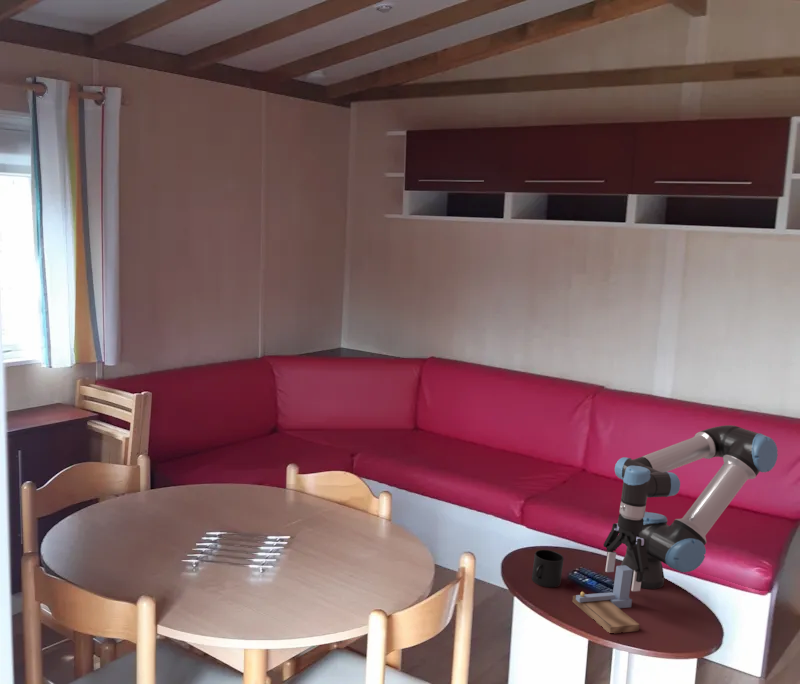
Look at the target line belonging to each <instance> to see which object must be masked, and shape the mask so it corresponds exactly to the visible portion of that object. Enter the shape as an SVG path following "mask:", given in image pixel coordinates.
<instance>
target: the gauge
mask: <svg viewBox="0 0 800 684" xmlns="http://www.w3.org/2000/svg"><path fill="white" fill-rule="evenodd" d="M632 571H633V570H632V569H630V568H629V567H628V566H626V565H623V566H620V565H616V567H615V574H614V582H613V589H612V591H611V592H598V593H588V594H587V593H585V592H584V591H581V592H580V594H576V595H575V596H576V600H577V601H578V602H591V601H602V600H609V601H610V602H612V603H613V604H614V605H615V606H617V607H618V608H619V609H626V608H632V603H633V598H630V591H631V586H632V585H631V578H632Z"/></svg>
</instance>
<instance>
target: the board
mask: <svg viewBox="0 0 800 684" xmlns="http://www.w3.org/2000/svg"><path fill="white" fill-rule="evenodd" d="M572 603H574V605H576V606H577V607H578V608H579V609H580V610H581V611H582V612H584V613H585V614H586V615H587V616H588V617H589V618H591V619H592V620H593V619H594V620H595V621H596V622H595V621H594V620H593V621H594V622H595V623H596V624H597V625H599V626H600V627H601V626H602V627H603V630H605V631H606V632H607V633H608V632H609V633H614V634H621V632H623V633H630V632H639V629H640V623H639V622H637V621H636V620H634V619H633V618H632V617H631V616H630V615H628V614H627V613H625V612H624V611H623V610H622V608H618V607H617V606H615V605H614V604H613V603H612V602H610V601H609V600H602V601H591V602H578V601H577V600H576V595H572ZM602 627H601V628H602ZM609 633H608V634H609Z"/></svg>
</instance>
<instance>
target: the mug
mask: <svg viewBox="0 0 800 684" xmlns="http://www.w3.org/2000/svg"><path fill="white" fill-rule="evenodd" d="M564 560H565V558H564V556H563V555H562V554H561V553H559V552H557V551H553V550H550V549H539V550H536V551H534V559H533V566H532V573H531V580H532V582H533V583H534V584H536V585H538V586H540V587H545V588H557V587H559V586H560V585H561V584H562V583H561V582H562V577H563V576H562V573H563V567H564Z"/></svg>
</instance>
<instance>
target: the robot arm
mask: <svg viewBox="0 0 800 684" xmlns="http://www.w3.org/2000/svg"><path fill="white" fill-rule="evenodd" d="M778 452H779V451H778V447H777V444H776V442H775V440H774V439H773V438H772V437H770V436H768V435H765V434H763V433H760V432H755V431H752V430H749V429H746V428H743V427H740V426H737V425H730V424H729V425H725V424H724V425H720V426H714V427H710V428H707V429H704V430H701V431H698V432H697V433H695V434H694V436H693V437H691V438H687V439H685V440H682V441H680V442H677V443H674V444H672V445H669V446H667V447H664V448H662V449H661V448H660V449H658V450H656V451H652V452H650V453H648V454H646V455H643V456H640V457H636V458H634V459H632V458H630V457H620V458H619V459H618V460H617V462H616V463H615V464H614V465H615V466H614V473H615V476H616V477H617V478H618V479H621V480H622V489H621V490H622V491H621V498H620V505H619V514H618V518H617V523H616V522H614V523H613V524H612V527H611V530H610V532H609V533H608V535H607V537H606V539H605V541H604V542H603V547H604V548H606V559H605V560H606V563H605V564H606V565H605V570H604V571H605V572H606V573H614V572H615V565H616V558H617V557H616V556H617V552H616V551H617V549H618V548H620V546H622V544H623V545H625V546H626V550H625V555H624V557H623V559H622V560H621V564H620V565H619V566H623V565H626V566H628V567H629V568H630V569H632V570H633V571H632V578H631V585H630V586H631V587H630V591H631V592H641V589H648V590H650V589H653V590H655V589H660V588H662V587H663V586H664V584H665V574H664V569H663V564H665V565H666V566H668V567H669V568H670V569H672V570H676V571H678V572H681V573H690V572H693V571H694V570H696V569H698V568H699V567H701V565H702V563H704V561H705V558H706V556H705V555H706V553H707V552H706V551H707V550H706V549H707V548H706V546H705V545H706V544H707V538H706V536H707V534H708V533H709V532H710V530H711V529H712V528H713V526H714V525H715V524H716V522H717V520H719V518H720V517H721V515H722V514H723V513H724V511H725V510H726V508H727V507H728V506H729V505H730V503H731V502H732V501H733V500H734V499H735V497H736V495H737V494H738V492H739V491H740V490H741V489H742V488H743V486H744V485H745V483H746V482H747V481H748V480H753V479H756V477H757V476H758V474H759V473H768V472H770V471H771V470H773V469H774V467H775V466H776V463H777V459H778V454H779V453H778ZM712 458H722V459H723V464H722V465H721V467H720V468H719V469H718V471H717V472H716V473H715V475H714V476H713V477H712V479H711V480H710V482H709V483H708V484H707V485H706V486H705V488H704V489H703V490H702V492H700V494H699V496H698V497H697V498H696V500H695V501H694V502H693V504H692V505H691V506H690V508H689V509H688V510H687V511H686V513H685V514H684V515H683V516H682V518H675V519H674V520H673V521H672V523H671V524H670V525H669V524H668V518H667V516H666V515H663V514H661V513H656V512H648V511H646V507H647V501H648V498H663V497H665V498H668V497H673V496H676V495H677V494H678V493H679V492H680V488H681V481H680V477H679V476H678V475H677V474H676V473H675V472H672V471H673V470H675V469H678V468H681V467H683V466H686V465H688V464H691V463H693V462H696V461H698V460H701V459H708V460H710V459H712ZM670 471H671V472H670Z"/></svg>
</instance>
